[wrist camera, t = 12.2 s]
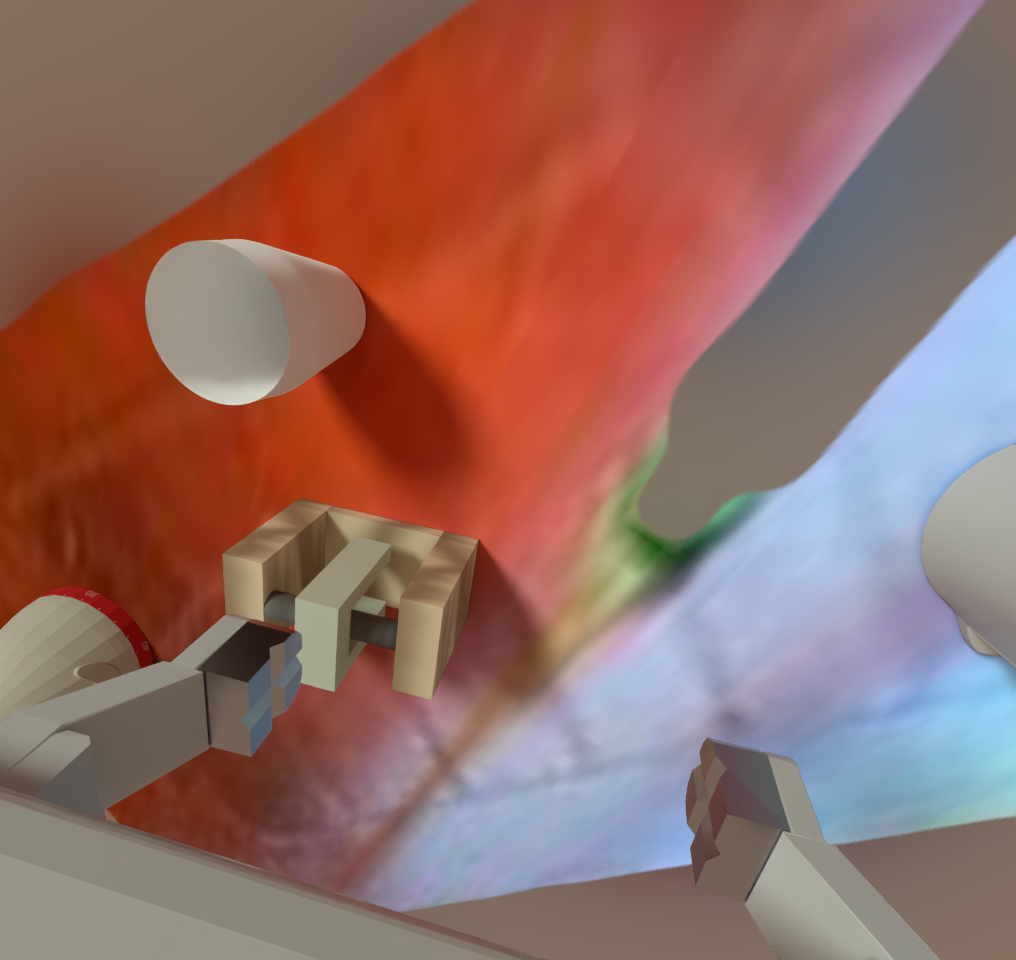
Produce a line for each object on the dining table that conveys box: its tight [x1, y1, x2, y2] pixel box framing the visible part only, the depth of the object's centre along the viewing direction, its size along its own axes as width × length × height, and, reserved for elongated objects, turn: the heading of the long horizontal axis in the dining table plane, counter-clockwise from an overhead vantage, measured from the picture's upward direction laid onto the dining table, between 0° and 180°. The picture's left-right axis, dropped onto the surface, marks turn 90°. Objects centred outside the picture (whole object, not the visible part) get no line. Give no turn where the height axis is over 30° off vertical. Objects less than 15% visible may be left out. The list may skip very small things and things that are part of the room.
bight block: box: [295, 536, 391, 692], centre depth 41 cm, size 3×7×9 cm, turn 170°
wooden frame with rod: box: [222, 498, 479, 700], centre depth 43 cm, size 16×8×10 cm, turn 81°
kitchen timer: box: [0, 586, 153, 723], centre depth 52 cm, size 14×14×15 cm
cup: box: [145, 239, 366, 405], centre depth 35 cm, size 9×9×12 cm
